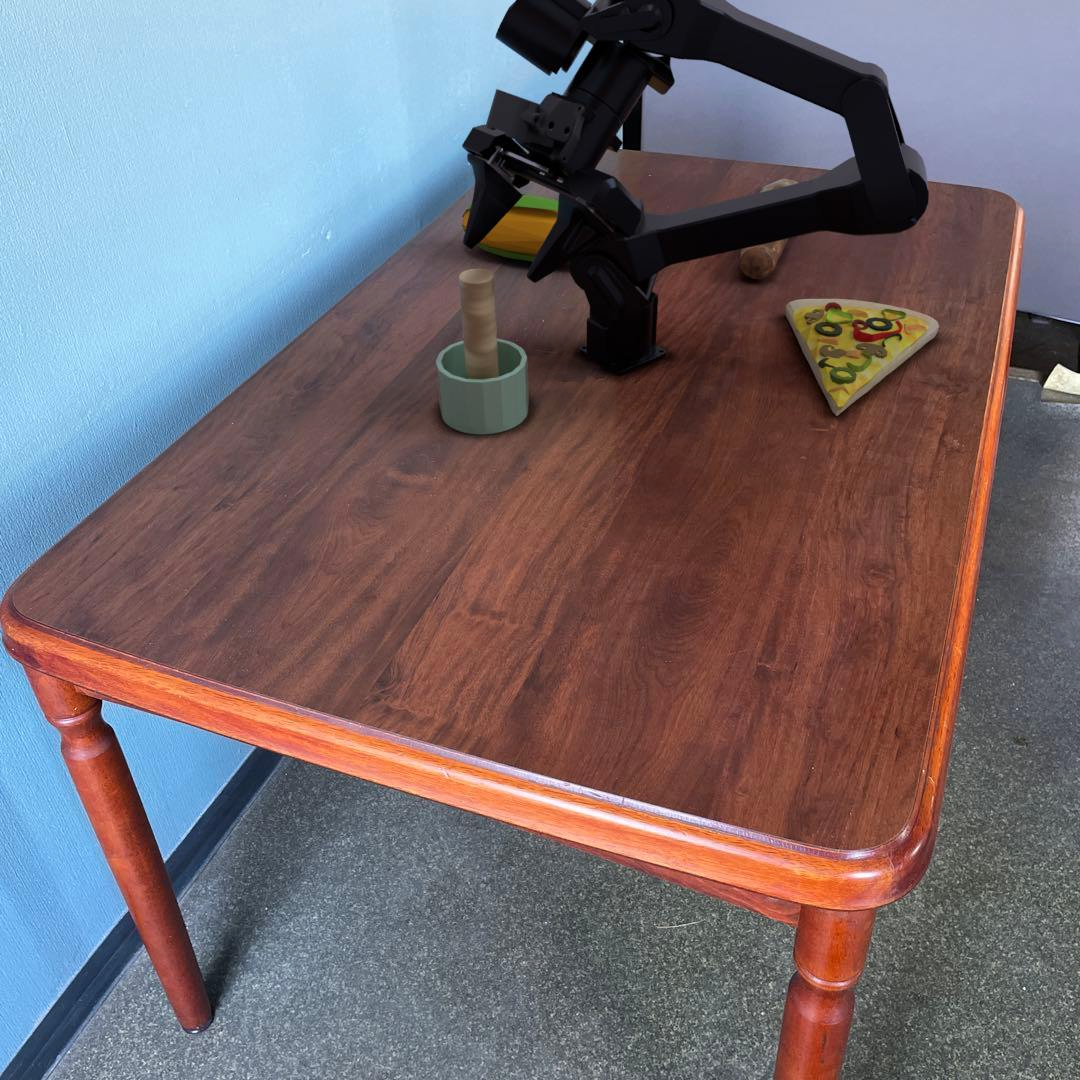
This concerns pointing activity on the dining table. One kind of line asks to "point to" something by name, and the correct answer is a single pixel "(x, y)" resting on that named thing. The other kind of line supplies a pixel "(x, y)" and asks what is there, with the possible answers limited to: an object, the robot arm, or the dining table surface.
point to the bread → (763, 246)
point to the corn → (520, 228)
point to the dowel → (479, 323)
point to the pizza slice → (855, 343)
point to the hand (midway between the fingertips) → (497, 262)
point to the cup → (483, 391)
